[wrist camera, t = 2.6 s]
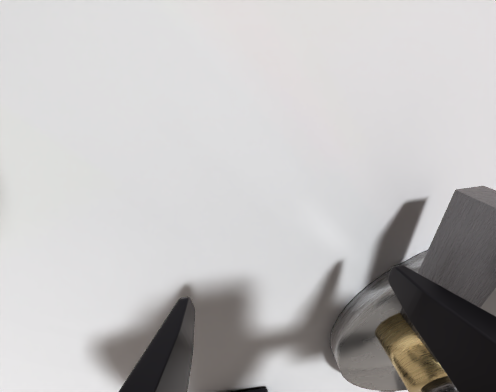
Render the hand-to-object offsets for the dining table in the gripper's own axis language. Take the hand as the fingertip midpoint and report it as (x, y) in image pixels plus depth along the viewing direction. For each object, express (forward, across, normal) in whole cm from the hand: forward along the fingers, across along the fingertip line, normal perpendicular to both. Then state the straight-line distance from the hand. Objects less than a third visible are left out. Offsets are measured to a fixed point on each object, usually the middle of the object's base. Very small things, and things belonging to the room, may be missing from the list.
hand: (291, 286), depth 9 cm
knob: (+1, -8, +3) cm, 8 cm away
